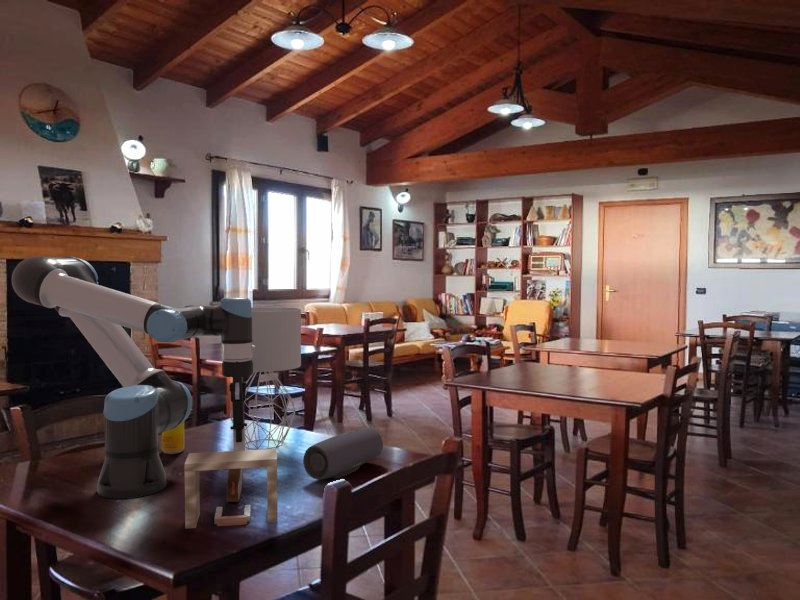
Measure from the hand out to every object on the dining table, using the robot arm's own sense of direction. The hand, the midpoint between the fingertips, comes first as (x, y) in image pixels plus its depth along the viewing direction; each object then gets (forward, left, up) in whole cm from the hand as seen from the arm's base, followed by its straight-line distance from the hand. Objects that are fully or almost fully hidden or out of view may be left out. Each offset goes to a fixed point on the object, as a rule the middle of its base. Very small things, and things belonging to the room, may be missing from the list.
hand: (239, 453), depth 166 cm
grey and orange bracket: (0, -29, -6) cm, 29 cm away
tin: (0, -15, -6) cm, 16 cm away
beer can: (-19, +27, -6) cm, 34 cm away
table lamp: (+6, +30, -6) cm, 31 cm away
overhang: (0, -29, -6) cm, 29 cm away
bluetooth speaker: (+26, -2, -6) cm, 27 cm away
